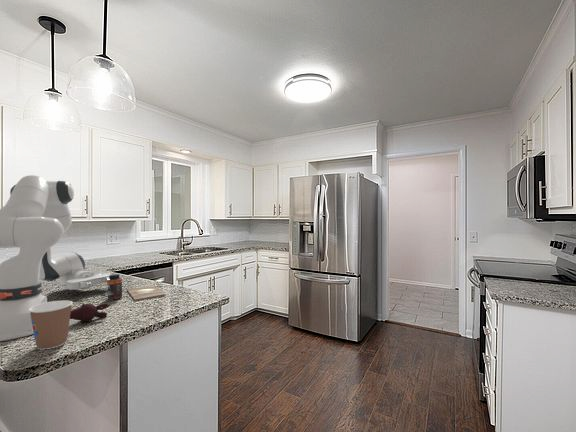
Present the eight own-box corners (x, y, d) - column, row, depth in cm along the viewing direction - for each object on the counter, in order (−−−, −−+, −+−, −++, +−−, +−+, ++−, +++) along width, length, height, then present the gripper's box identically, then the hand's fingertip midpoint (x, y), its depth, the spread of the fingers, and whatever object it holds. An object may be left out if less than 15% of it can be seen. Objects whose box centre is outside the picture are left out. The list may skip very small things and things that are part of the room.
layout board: (164, 295, 136) (164, 293, 136) (134, 301, 128) (134, 299, 128) (154, 286, 154) (154, 284, 154) (127, 290, 146) (127, 289, 146)
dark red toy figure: (59, 312, 96) (110, 306, 106) (58, 302, 102) (107, 297, 112) (57, 331, 97) (108, 323, 107) (56, 319, 103) (105, 313, 113)
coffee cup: (37, 341, 89) (36, 303, 89) (77, 334, 93) (76, 298, 93) (23, 356, 79) (22, 313, 79) (68, 348, 84) (67, 308, 84)
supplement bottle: (124, 296, 137) (124, 272, 136) (119, 299, 131) (118, 275, 130) (111, 296, 136) (110, 273, 136) (105, 300, 130) (104, 276, 130)
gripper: (59, 278, 135) (75, 281, 129) (103, 270, 154) (119, 272, 147) (59, 291, 135) (76, 294, 129) (103, 281, 154) (119, 284, 148)
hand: (99, 282), depth 138 cm, fingers open, 8 cm apart
